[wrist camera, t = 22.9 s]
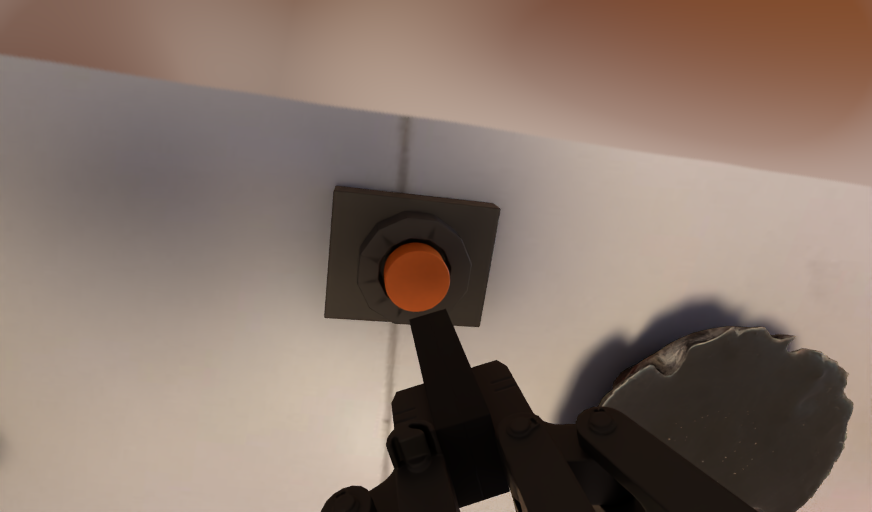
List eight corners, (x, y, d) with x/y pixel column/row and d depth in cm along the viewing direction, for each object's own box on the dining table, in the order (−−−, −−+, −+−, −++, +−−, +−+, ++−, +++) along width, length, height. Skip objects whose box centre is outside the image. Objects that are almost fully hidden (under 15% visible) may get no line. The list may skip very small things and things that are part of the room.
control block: (326, 307, 30) (321, 331, 27) (335, 185, 28) (331, 195, 25) (473, 316, 32) (486, 340, 29) (493, 203, 30) (510, 214, 26)
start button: (380, 297, 27) (381, 310, 26) (386, 239, 26) (388, 247, 25) (440, 301, 28) (445, 314, 26) (448, 244, 27) (454, 253, 25)
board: (775, 497, 42) (828, 546, 37) (546, 551, 40) (572, 612, 35) (809, 274, 35) (879, 300, 30) (533, 325, 33) (563, 362, 28)
